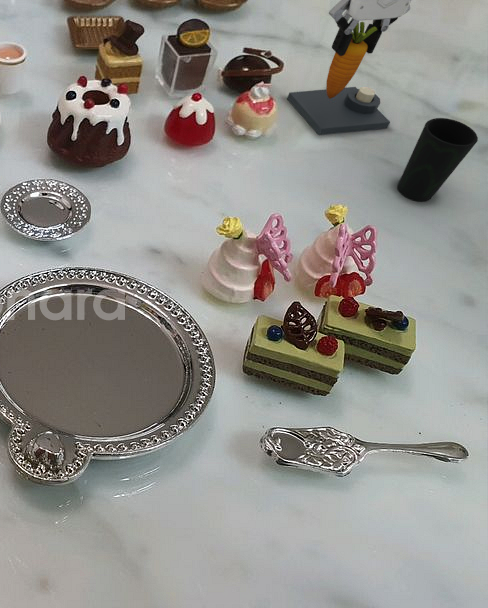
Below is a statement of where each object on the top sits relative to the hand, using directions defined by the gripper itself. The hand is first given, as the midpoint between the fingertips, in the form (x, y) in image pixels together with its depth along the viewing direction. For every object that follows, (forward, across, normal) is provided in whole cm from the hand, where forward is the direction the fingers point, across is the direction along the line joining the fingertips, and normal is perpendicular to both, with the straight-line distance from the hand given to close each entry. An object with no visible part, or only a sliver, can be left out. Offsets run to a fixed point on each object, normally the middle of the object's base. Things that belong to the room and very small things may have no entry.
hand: (351, 49), depth 132 cm
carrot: (+10, 0, 0) cm, 10 cm away
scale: (+13, +3, 0) cm, 14 cm away
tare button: (+11, +7, 0) cm, 13 cm away
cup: (+14, +4, -23) cm, 27 cm away
